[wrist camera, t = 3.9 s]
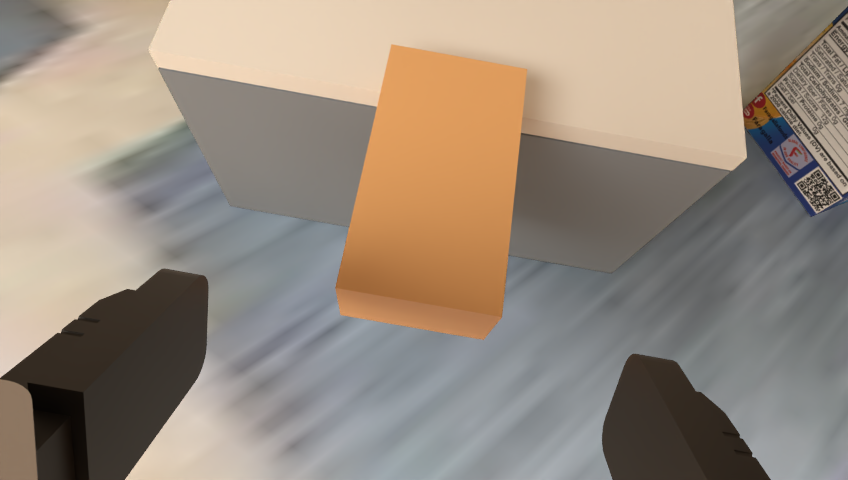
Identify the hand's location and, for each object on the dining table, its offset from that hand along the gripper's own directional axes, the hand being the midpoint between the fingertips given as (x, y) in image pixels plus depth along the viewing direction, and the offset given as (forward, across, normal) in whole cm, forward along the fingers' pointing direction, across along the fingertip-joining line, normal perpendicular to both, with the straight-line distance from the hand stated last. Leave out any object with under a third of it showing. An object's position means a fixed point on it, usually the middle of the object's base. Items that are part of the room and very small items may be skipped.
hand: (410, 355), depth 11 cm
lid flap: (+13, 0, -6) cm, 14 cm away
